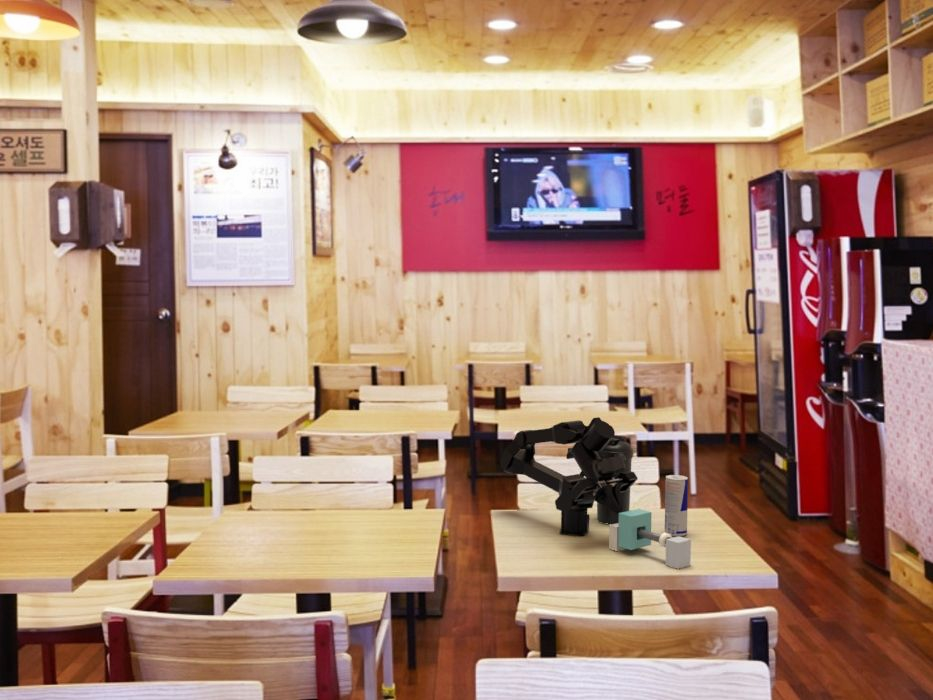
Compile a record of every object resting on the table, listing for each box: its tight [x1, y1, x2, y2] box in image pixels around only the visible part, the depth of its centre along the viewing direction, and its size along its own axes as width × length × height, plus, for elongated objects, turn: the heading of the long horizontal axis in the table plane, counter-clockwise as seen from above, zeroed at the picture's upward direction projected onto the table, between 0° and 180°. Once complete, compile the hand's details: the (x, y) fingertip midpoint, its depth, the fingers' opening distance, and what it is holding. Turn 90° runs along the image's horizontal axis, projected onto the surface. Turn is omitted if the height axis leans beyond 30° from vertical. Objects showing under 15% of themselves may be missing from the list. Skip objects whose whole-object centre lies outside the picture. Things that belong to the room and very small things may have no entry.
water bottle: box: [596, 434, 634, 525], centre depth 242 cm, size 10×10×23 cm
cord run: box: [608, 523, 692, 570], centre depth 211 cm, size 20×7×7 cm, turn 37°
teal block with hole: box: [618, 508, 652, 551], centre depth 215 cm, size 4×7×8 cm, turn 127°
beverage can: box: [664, 474, 689, 537], centre depth 230 cm, size 6×6×15 cm
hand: (621, 514), depth 218 cm, fingers closed
